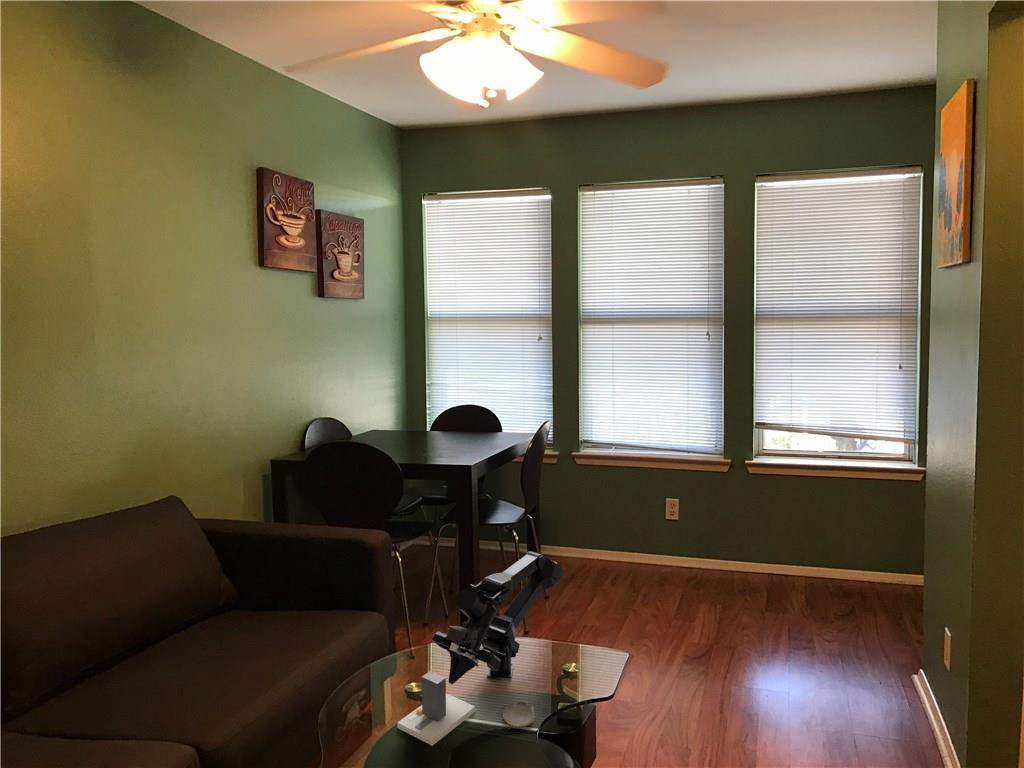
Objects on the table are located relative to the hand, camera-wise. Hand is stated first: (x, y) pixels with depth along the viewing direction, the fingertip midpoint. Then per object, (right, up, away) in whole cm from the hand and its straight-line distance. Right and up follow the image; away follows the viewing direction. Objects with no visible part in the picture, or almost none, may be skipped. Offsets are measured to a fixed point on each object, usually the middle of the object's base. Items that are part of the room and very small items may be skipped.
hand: (450, 683), depth 200 cm
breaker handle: (-4, -6, -4) cm, 8 cm away
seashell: (+17, -8, -2) cm, 19 cm away
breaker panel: (-3, -8, -3) cm, 9 cm away
